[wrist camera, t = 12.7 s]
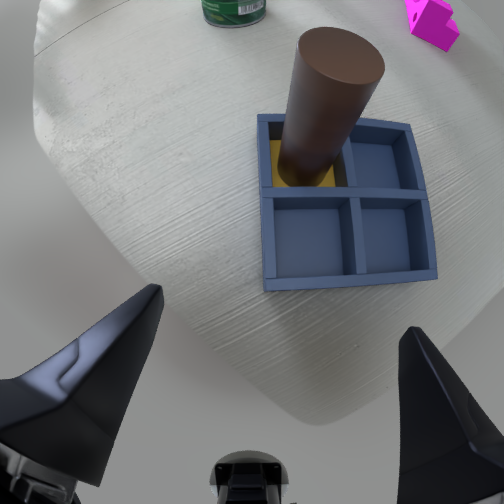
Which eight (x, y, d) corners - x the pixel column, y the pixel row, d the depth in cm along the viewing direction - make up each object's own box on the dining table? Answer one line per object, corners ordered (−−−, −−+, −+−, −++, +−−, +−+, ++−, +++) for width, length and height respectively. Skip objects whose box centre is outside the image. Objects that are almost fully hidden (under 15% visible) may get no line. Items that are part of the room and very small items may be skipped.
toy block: (447, 52, 26) (468, 21, 19) (410, 33, 27) (429, -1, 19) (434, 9, 28) (448, -16, 21) (404, -5, 29) (416, -33, 21)
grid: (415, 281, 22) (438, 279, 18) (263, 291, 22) (265, 291, 19) (394, 142, 24) (410, 123, 20) (256, 136, 24) (257, 113, 20)
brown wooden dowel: (328, 190, 22) (396, 90, 9) (278, 191, 22) (304, 79, 9) (322, 146, 23) (371, 33, 10) (275, 146, 23) (291, 23, 10)
